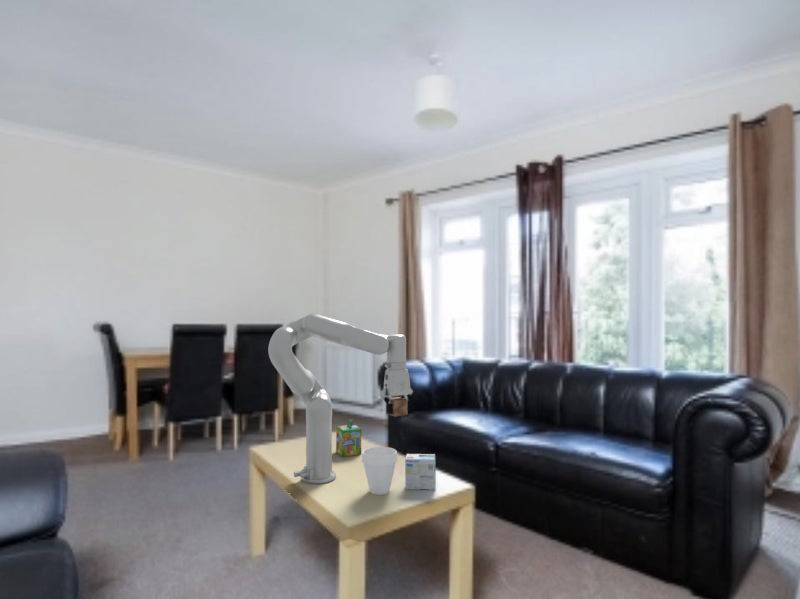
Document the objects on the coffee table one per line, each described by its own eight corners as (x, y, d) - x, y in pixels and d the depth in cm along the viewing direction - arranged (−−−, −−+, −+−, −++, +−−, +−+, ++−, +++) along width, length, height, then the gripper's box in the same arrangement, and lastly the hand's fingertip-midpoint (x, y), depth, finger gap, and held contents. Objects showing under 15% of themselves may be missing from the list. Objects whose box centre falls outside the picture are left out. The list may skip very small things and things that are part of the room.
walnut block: (395, 416, 177) (395, 400, 177) (386, 414, 182) (386, 398, 182) (407, 414, 181) (407, 399, 181) (398, 412, 186) (398, 397, 186)
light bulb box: (435, 483, 169) (435, 453, 169) (435, 490, 162) (435, 459, 162) (406, 482, 170) (406, 452, 170) (405, 489, 163) (404, 458, 163)
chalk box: (335, 452, 209) (335, 418, 210) (355, 449, 213) (354, 416, 214) (342, 457, 201) (341, 423, 201) (362, 454, 205) (361, 420, 205)
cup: (378, 482, 170) (378, 444, 171) (404, 490, 163) (404, 450, 163) (354, 492, 161) (354, 452, 161) (381, 500, 153) (380, 459, 154)
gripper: (383, 368, 174) (383, 417, 173) (419, 365, 184) (419, 411, 184) (372, 366, 180) (372, 413, 179) (408, 364, 190) (408, 408, 190)
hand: (396, 412), depth 181 cm, fingers closed on walnut block, 6 cm apart
